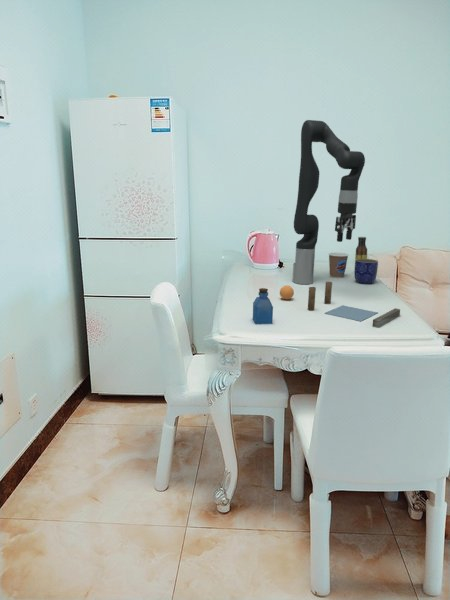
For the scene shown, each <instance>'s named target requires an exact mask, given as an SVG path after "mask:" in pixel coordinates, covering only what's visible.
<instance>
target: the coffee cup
mask: <svg viewBox="0 0 450 600" xmlns="http://www.w3.org/2000/svg"><path fill="white" fill-rule="evenodd" d="M348 256H349V254H348V253H346V252H329V253H328V261H329V263H328V264H329V265H328V267H329V276H330V277H331V278H334V279H335V278H336V279H340V278H341V279H342V278H344V277H345V272H346V270H347V269H346V268H347V263H348Z"/></svg>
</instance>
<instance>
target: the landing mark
mask: <svg viewBox="0 0 450 600" xmlns="http://www.w3.org/2000/svg"><path fill="white" fill-rule="evenodd" d="M324 314H325V315H330V316H334V317H338V318H342V319H346V320H347V319H348V320H353V321H356V322H360V323H361V322H363V321H365V320H367V319H369V318H371V317H373V316H375V315H377V314H379V312H377V311H373V310H368V309H363V308H358V307H353V306H348V305H344V304H343V305H340V306H338V307H335V308H333V309H331V310H328V311H325V312H324Z"/></svg>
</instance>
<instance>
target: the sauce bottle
mask: <svg viewBox="0 0 450 600" xmlns="http://www.w3.org/2000/svg"><path fill="white" fill-rule="evenodd" d="M357 240H358V243H357V246H356V248H355V254H354V255H355V257H354V261H355V260H356V259H368V248H367V245H366V241H367V237H366V236H358V237H357Z"/></svg>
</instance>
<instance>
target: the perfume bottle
mask: <svg viewBox="0 0 450 600" xmlns="http://www.w3.org/2000/svg"><path fill="white" fill-rule="evenodd" d="M258 290H259V291H258V296H256V298H255V299H254V301H253V302H252V303H253V304H252V321H253V322H254V325H273V319H274V317H273V316H274V315H273V312H274V307H273V304H272V302H271V300H270V298H269V297H268V296H269V292H268V291H269V290H268V288H264V287H263V288H258Z"/></svg>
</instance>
